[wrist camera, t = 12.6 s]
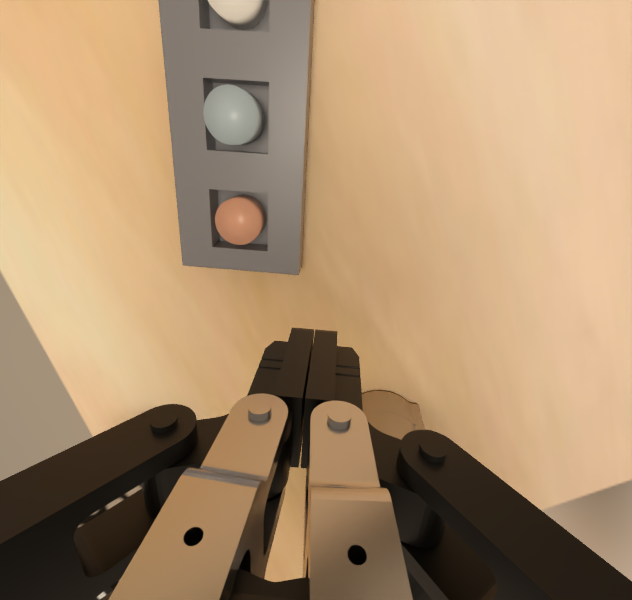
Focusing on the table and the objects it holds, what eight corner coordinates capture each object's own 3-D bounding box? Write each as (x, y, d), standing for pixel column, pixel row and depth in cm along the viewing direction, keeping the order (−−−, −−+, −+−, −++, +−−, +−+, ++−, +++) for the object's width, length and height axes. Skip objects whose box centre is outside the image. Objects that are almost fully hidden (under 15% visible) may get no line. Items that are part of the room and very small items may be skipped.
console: (318, -76, 28) (315, -100, 25) (301, 265, 39) (298, 275, 37) (167, -83, 29) (148, -107, 26) (193, 257, 40) (182, 265, 37)
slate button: (264, 91, 31) (256, 86, 28) (263, 146, 33) (256, 146, 30) (214, 88, 31) (201, 82, 29) (216, 143, 33) (205, 143, 30)
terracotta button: (266, 196, 36) (260, 200, 33) (266, 239, 38) (260, 246, 35) (223, 192, 36) (213, 196, 34) (225, 235, 38) (216, 243, 35)
